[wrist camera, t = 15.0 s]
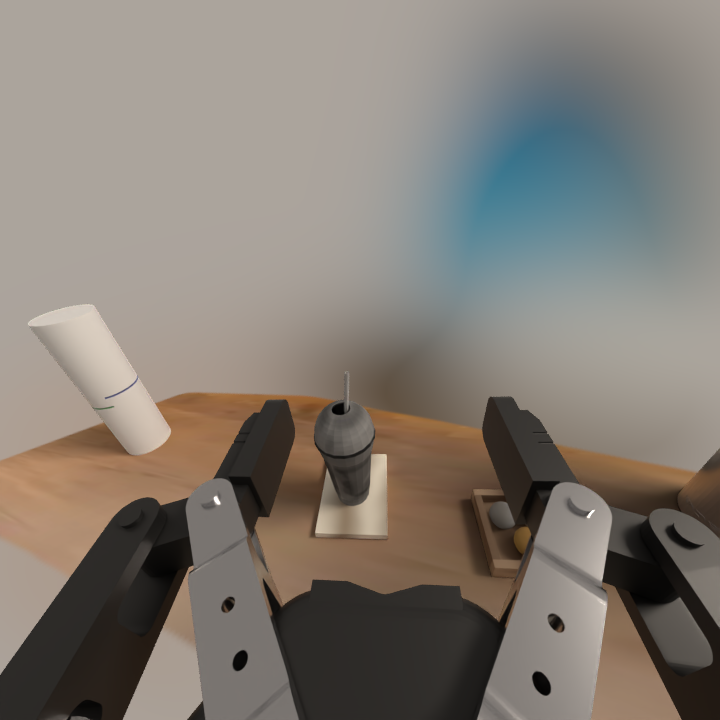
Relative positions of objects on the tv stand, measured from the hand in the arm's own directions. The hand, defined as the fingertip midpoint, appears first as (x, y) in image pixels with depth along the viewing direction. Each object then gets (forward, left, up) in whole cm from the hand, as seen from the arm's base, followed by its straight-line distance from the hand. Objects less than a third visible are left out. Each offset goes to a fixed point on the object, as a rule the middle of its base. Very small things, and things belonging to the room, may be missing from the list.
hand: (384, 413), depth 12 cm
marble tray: (-15, -10, -30) cm, 35 cm away
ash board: (+5, -15, -30) cm, 34 cm away
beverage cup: (+5, -15, -29) cm, 33 cm away
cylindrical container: (+44, -25, -30) cm, 59 cm away
